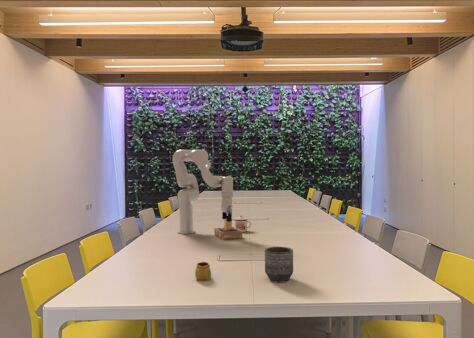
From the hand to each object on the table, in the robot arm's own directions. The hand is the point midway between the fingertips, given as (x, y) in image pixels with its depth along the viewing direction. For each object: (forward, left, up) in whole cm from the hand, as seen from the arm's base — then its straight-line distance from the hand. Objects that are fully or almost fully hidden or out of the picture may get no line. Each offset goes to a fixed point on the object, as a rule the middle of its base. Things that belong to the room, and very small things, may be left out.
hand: (226, 220), depth 266 cm
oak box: (+1, +1, -11) cm, 11 cm away
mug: (+83, -39, -12) cm, 93 cm away
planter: (+100, -10, -12) cm, 101 cm away
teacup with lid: (-15, +18, -12) cm, 26 cm away
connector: (+1, +1, -10) cm, 10 cm away
